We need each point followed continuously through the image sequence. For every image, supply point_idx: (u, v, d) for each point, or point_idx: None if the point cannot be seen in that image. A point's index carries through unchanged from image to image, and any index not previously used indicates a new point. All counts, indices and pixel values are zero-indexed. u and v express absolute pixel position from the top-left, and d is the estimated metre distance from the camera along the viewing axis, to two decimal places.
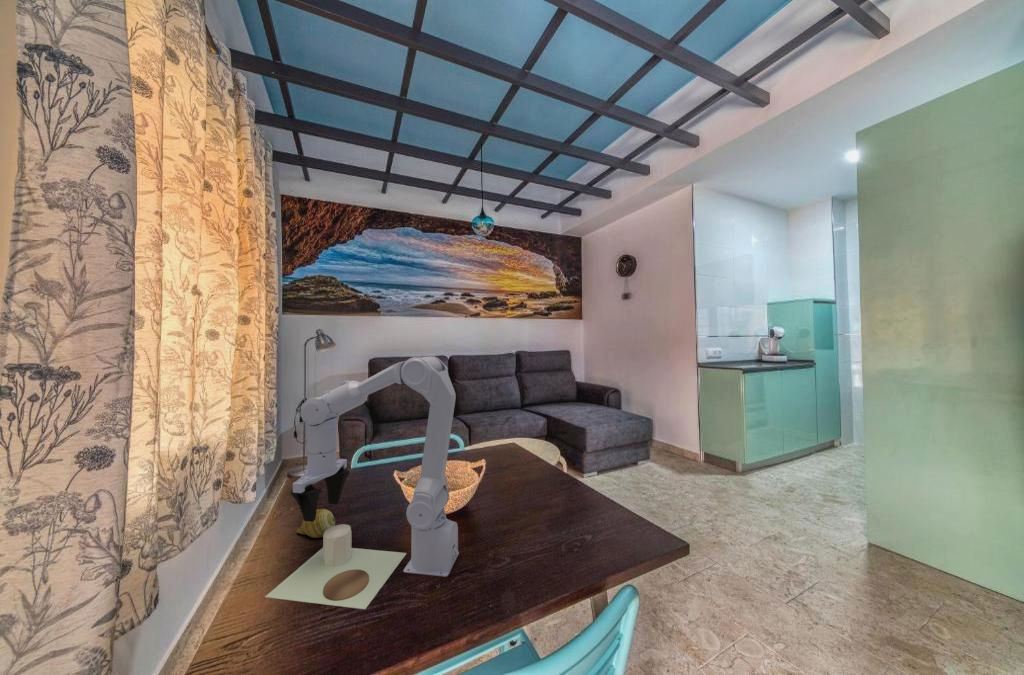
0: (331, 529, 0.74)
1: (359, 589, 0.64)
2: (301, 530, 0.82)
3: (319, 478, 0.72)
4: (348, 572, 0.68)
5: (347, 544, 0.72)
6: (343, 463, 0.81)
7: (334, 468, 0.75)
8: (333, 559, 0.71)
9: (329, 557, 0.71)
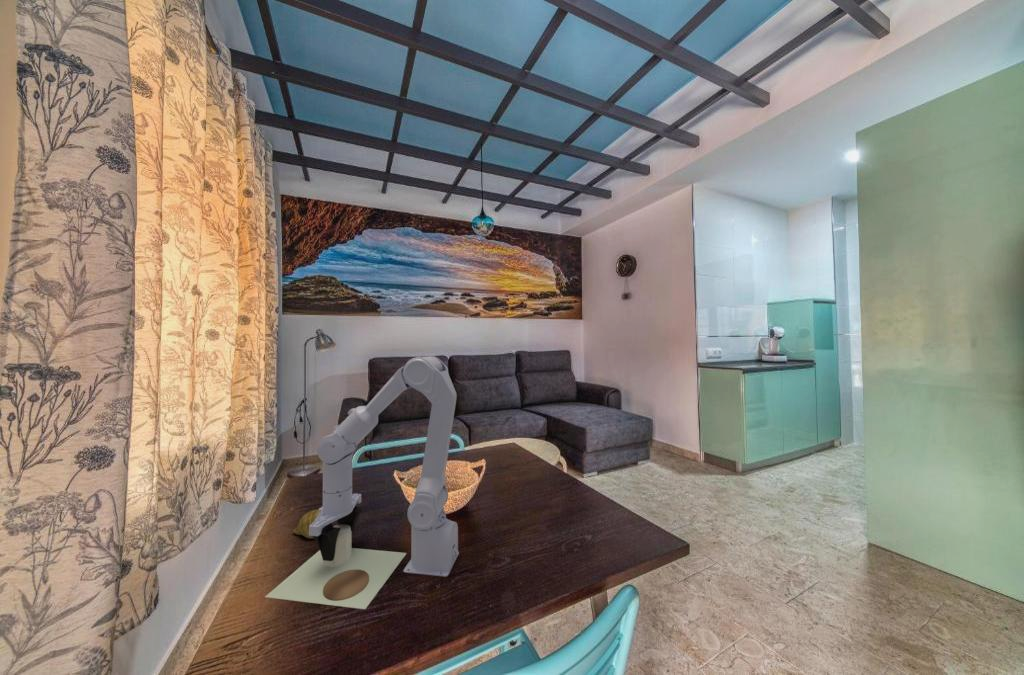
0: None
1: (359, 589, 0.64)
2: (297, 530, 0.82)
3: (335, 519, 0.70)
4: (348, 572, 0.68)
5: (347, 544, 0.72)
6: (358, 499, 0.79)
7: (350, 506, 0.73)
8: (333, 559, 0.71)
9: None
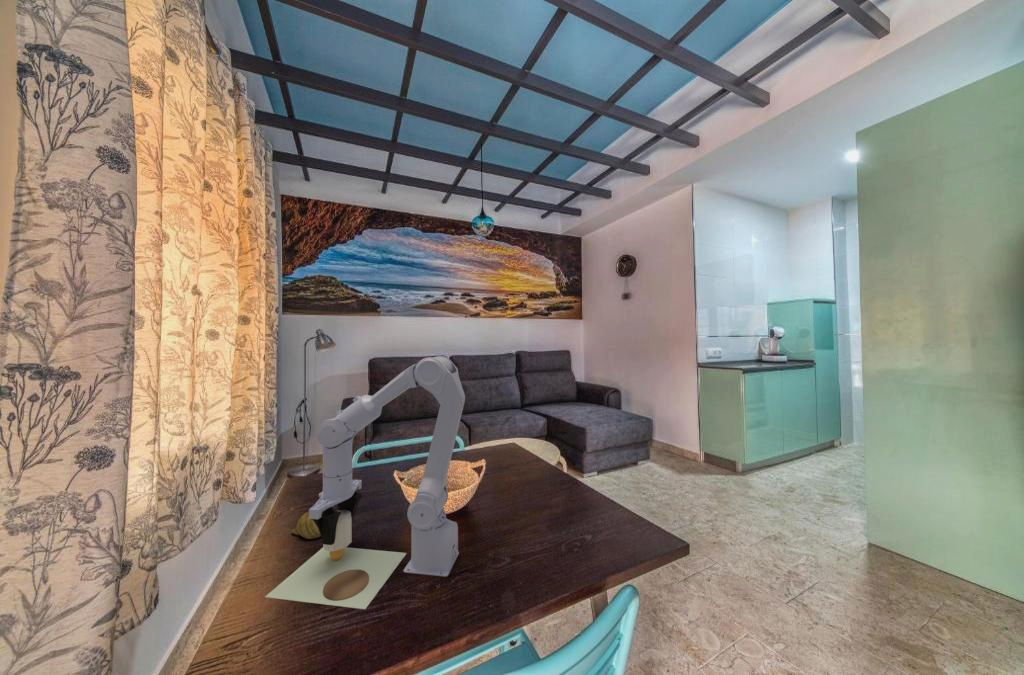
0: None
1: (359, 589, 0.64)
2: (296, 531, 0.82)
3: (335, 503, 0.70)
4: (348, 572, 0.68)
5: (347, 529, 0.73)
6: (358, 484, 0.79)
7: (350, 491, 0.73)
8: None
9: None
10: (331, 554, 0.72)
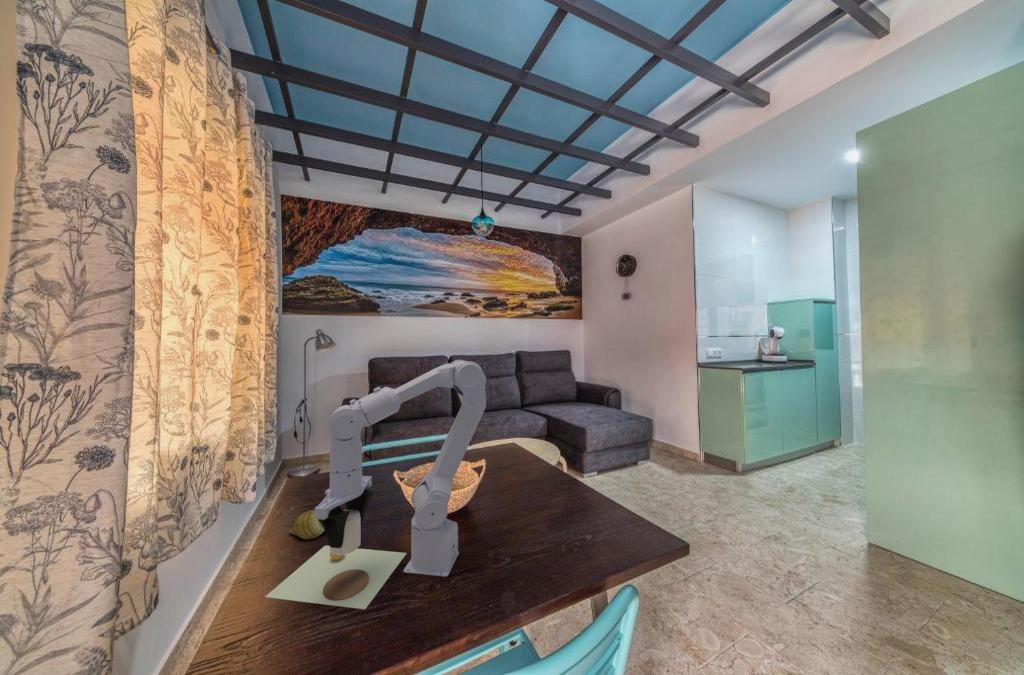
0: None
1: (359, 589, 0.64)
2: (293, 531, 0.82)
3: (344, 501, 0.63)
4: (348, 572, 0.68)
5: (356, 531, 0.65)
6: (368, 481, 0.72)
7: (360, 488, 0.66)
8: (340, 547, 0.63)
9: None
10: (331, 554, 0.72)
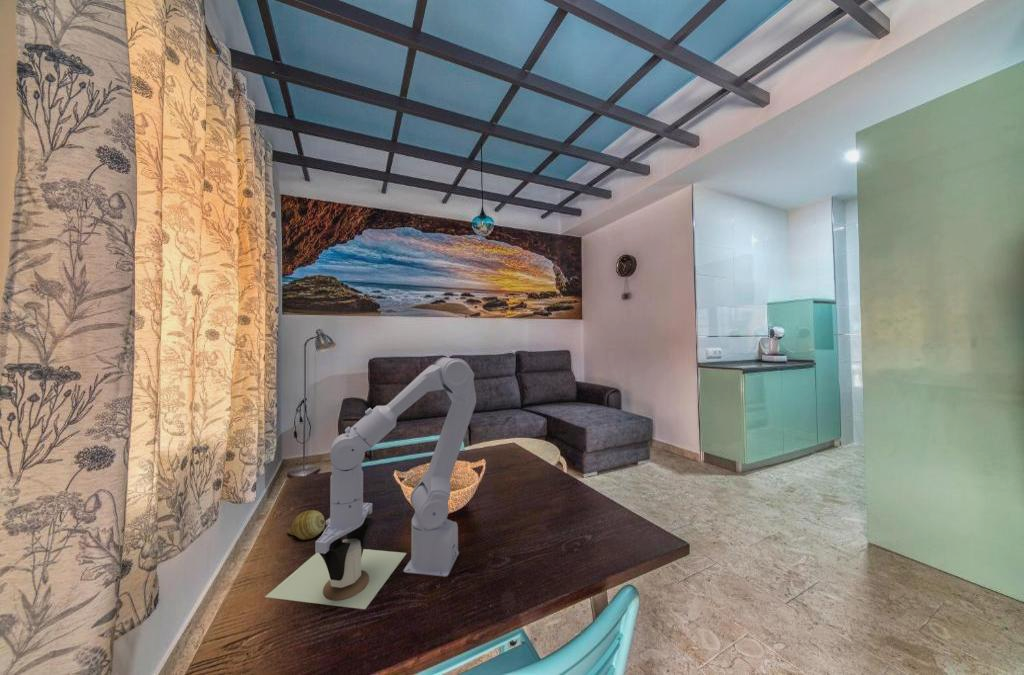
0: None
1: (359, 589, 0.64)
2: (291, 531, 0.82)
3: (345, 533, 0.62)
4: None
5: (356, 561, 0.65)
6: (369, 509, 0.71)
7: (361, 518, 0.65)
8: (341, 579, 0.63)
9: None
10: None
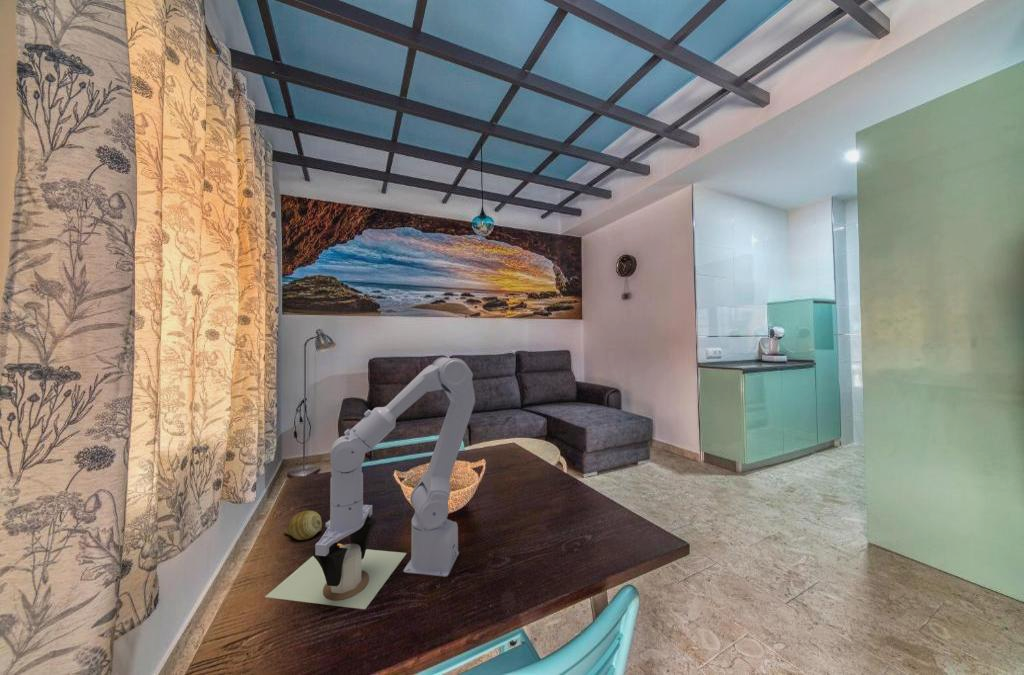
0: None
1: (359, 589, 0.64)
2: (288, 531, 0.82)
3: (345, 535, 0.62)
4: None
5: (357, 567, 0.65)
6: (369, 511, 0.71)
7: (361, 521, 0.65)
8: (341, 585, 0.63)
9: None
10: None
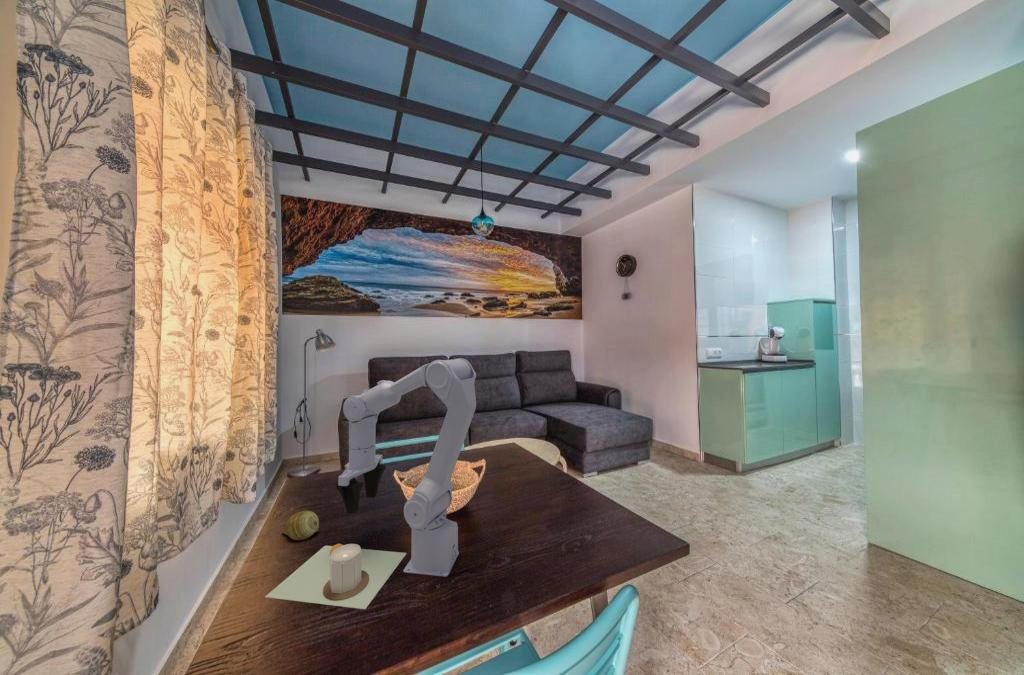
0: (339, 550, 0.66)
1: (359, 589, 0.64)
2: (285, 531, 0.82)
3: (361, 472, 0.75)
4: None
5: (357, 567, 0.65)
6: (379, 458, 0.84)
7: (374, 463, 0.79)
8: (341, 585, 0.63)
9: (336, 582, 0.63)
10: None
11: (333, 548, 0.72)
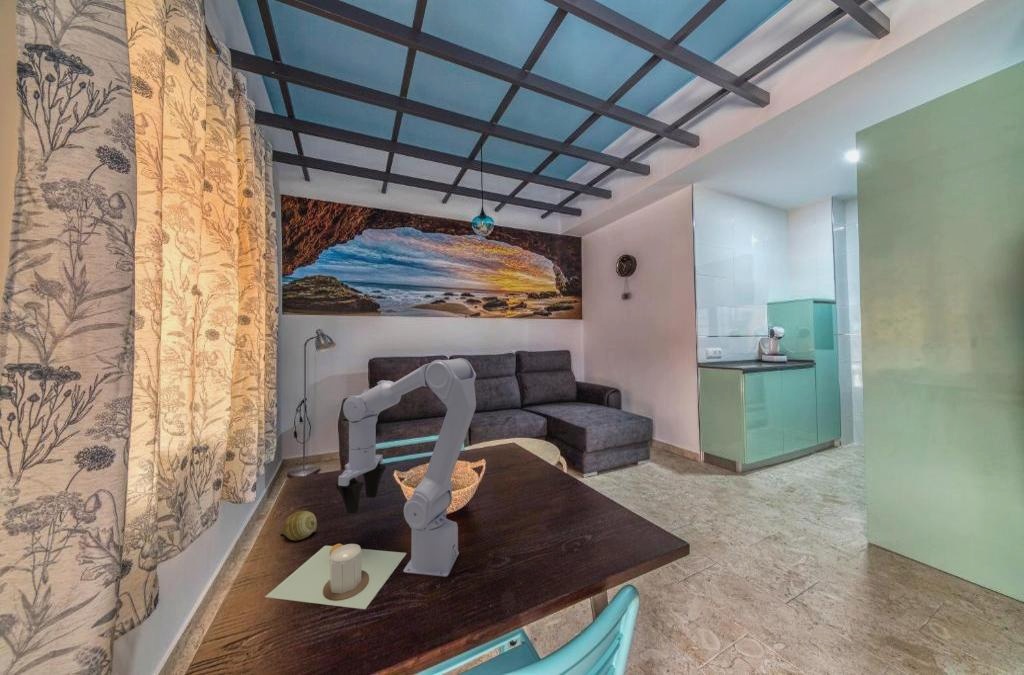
0: (339, 550, 0.66)
1: (359, 589, 0.64)
2: (283, 530, 0.82)
3: (361, 472, 0.75)
4: None
5: (357, 567, 0.65)
6: (380, 458, 0.84)
7: (374, 463, 0.79)
8: (341, 585, 0.63)
9: (336, 582, 0.63)
10: None
11: (333, 548, 0.72)
